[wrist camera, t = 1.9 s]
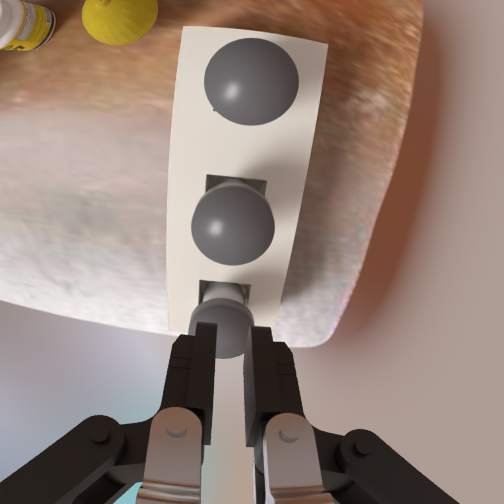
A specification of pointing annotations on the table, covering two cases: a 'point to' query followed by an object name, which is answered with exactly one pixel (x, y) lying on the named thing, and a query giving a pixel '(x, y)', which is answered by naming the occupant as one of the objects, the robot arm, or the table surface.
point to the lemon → (119, 19)
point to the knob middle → (233, 223)
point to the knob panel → (236, 172)
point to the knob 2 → (224, 317)
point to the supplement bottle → (24, 25)
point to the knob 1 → (251, 81)
